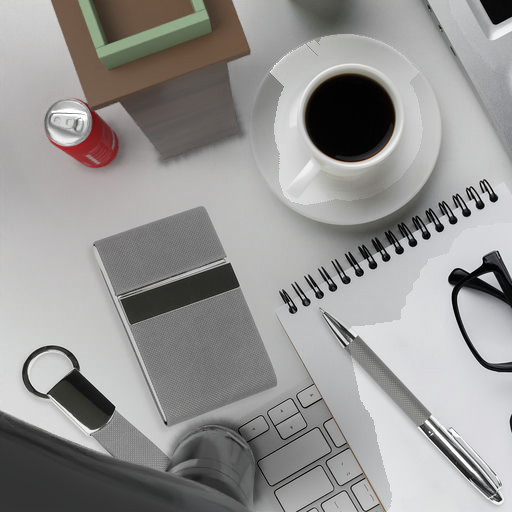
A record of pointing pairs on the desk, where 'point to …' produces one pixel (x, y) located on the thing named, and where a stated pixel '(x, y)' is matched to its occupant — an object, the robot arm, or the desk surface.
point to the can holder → (146, 43)
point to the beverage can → (81, 133)
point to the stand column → (186, 112)
